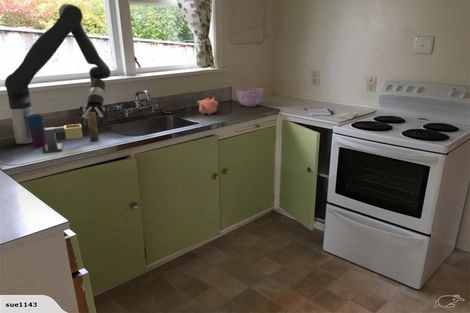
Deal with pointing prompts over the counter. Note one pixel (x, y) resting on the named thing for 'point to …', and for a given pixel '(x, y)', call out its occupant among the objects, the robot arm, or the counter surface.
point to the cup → (36, 129)
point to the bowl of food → (249, 96)
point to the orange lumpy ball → (207, 106)
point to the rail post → (92, 126)
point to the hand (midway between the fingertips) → (92, 125)
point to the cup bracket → (52, 145)
